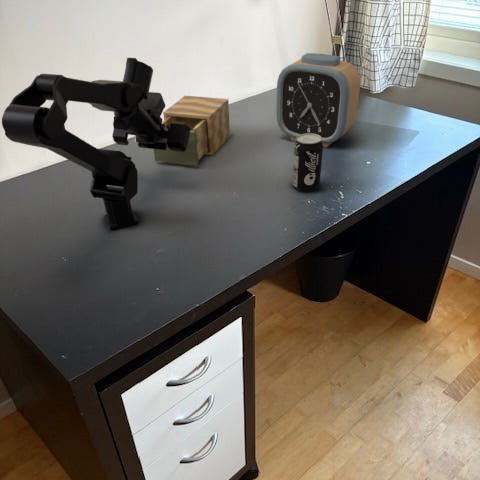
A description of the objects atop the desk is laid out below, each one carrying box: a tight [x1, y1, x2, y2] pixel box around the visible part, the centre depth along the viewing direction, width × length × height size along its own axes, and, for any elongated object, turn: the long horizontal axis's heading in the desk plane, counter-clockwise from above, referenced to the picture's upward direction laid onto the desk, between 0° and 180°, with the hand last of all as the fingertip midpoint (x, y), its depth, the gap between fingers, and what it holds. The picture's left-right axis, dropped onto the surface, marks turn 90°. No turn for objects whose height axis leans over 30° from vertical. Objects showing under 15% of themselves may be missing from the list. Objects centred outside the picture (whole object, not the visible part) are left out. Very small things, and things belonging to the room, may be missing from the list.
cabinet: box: [162, 95, 231, 156], centre depth 136 cm, size 15×14×11 cm
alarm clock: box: [275, 52, 361, 148], centre depth 132 cm, size 21×10×22 cm, turn 58°
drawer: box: [152, 116, 209, 167], centre depth 128 cm, size 18×12×9 cm
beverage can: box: [292, 133, 324, 193], centre depth 113 cm, size 7×7×12 cm
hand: (165, 148), depth 120 cm, fingers closed
